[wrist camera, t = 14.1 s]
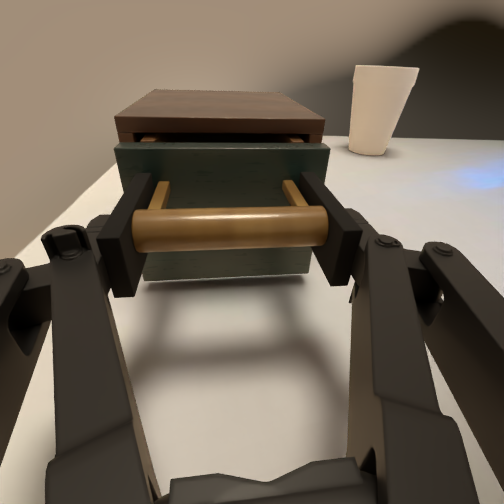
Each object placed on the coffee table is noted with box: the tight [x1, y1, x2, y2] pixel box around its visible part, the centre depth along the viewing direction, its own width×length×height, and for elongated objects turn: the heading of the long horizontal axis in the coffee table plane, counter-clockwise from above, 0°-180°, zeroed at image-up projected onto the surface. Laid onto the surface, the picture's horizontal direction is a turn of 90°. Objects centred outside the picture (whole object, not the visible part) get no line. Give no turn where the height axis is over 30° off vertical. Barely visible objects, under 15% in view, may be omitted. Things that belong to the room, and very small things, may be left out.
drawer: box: [114, 133, 330, 281], centre depth 21 cm, size 20×12×9 cm, turn 7°
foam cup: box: [348, 65, 419, 155], centre depth 50 cm, size 10×9×13 cm
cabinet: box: [114, 89, 325, 143], centre depth 27 cm, size 15×13×11 cm
